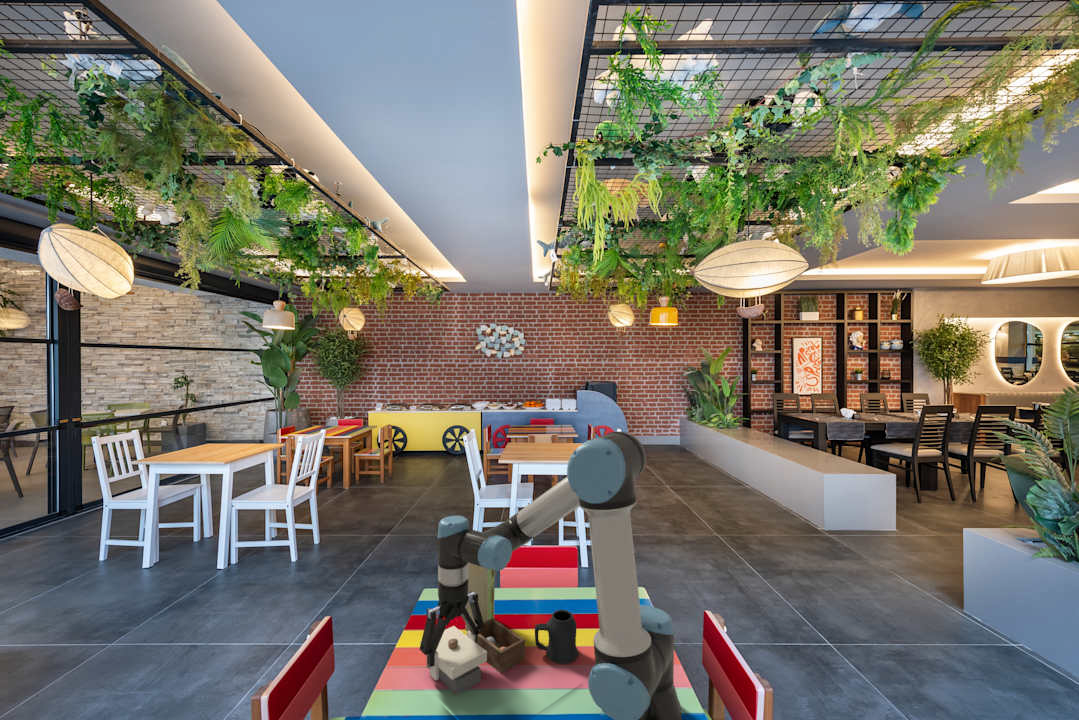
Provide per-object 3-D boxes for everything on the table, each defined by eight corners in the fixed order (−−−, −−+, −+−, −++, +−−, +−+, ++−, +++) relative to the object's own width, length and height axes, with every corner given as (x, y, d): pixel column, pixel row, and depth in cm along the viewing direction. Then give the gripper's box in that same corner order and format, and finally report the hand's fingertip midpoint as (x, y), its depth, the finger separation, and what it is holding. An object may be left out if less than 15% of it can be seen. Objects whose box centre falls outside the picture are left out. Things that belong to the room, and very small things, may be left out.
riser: (480, 684, 117) (480, 668, 117) (456, 698, 112) (456, 681, 112) (450, 657, 127) (450, 642, 127) (426, 669, 122) (426, 653, 122)
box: (524, 662, 125) (524, 639, 125) (500, 676, 120) (500, 652, 120) (492, 638, 136) (492, 618, 135) (469, 650, 130) (469, 628, 130)
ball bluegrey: (497, 648, 130) (497, 637, 130) (488, 653, 128) (488, 642, 128) (490, 643, 132) (490, 632, 132) (482, 648, 130) (482, 637, 130)
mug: (576, 645, 133) (577, 605, 132) (581, 667, 124) (581, 624, 123) (534, 646, 132) (534, 606, 132) (535, 668, 123) (535, 625, 123)
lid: (486, 661, 117) (486, 646, 117) (452, 679, 111) (452, 664, 111) (453, 634, 128) (453, 621, 128) (420, 650, 122) (420, 636, 122)
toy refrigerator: (488, 636, 137) (489, 564, 136) (464, 633, 138) (464, 561, 138) (496, 621, 145) (497, 552, 144) (473, 618, 146) (474, 550, 146)
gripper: (481, 561, 130) (481, 642, 130) (404, 589, 114) (404, 680, 115) (498, 570, 124) (498, 655, 125) (419, 601, 109) (419, 697, 109)
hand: (453, 667), depth 120 cm, fingers open, 10 cm apart
